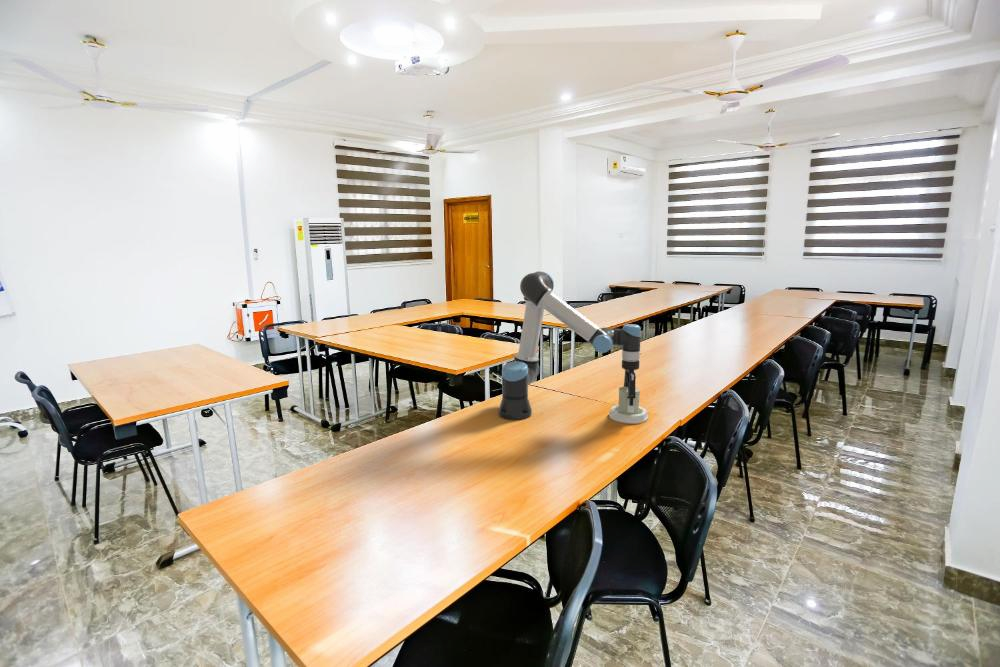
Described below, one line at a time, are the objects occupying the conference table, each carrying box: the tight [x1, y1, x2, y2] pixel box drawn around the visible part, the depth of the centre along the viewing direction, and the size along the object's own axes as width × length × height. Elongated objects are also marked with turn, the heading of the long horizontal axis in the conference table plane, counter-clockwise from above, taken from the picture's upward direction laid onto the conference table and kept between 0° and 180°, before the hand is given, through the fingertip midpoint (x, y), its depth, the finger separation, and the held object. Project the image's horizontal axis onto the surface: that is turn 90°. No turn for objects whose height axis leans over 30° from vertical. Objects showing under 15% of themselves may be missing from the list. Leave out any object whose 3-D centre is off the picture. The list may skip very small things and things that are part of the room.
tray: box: [608, 404, 649, 425], centre depth 222 cm, size 17×17×3 cm
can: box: [618, 386, 641, 415], centre depth 221 cm, size 9×9×12 cm
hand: (628, 408), depth 222 cm, fingers open, 10 cm apart
